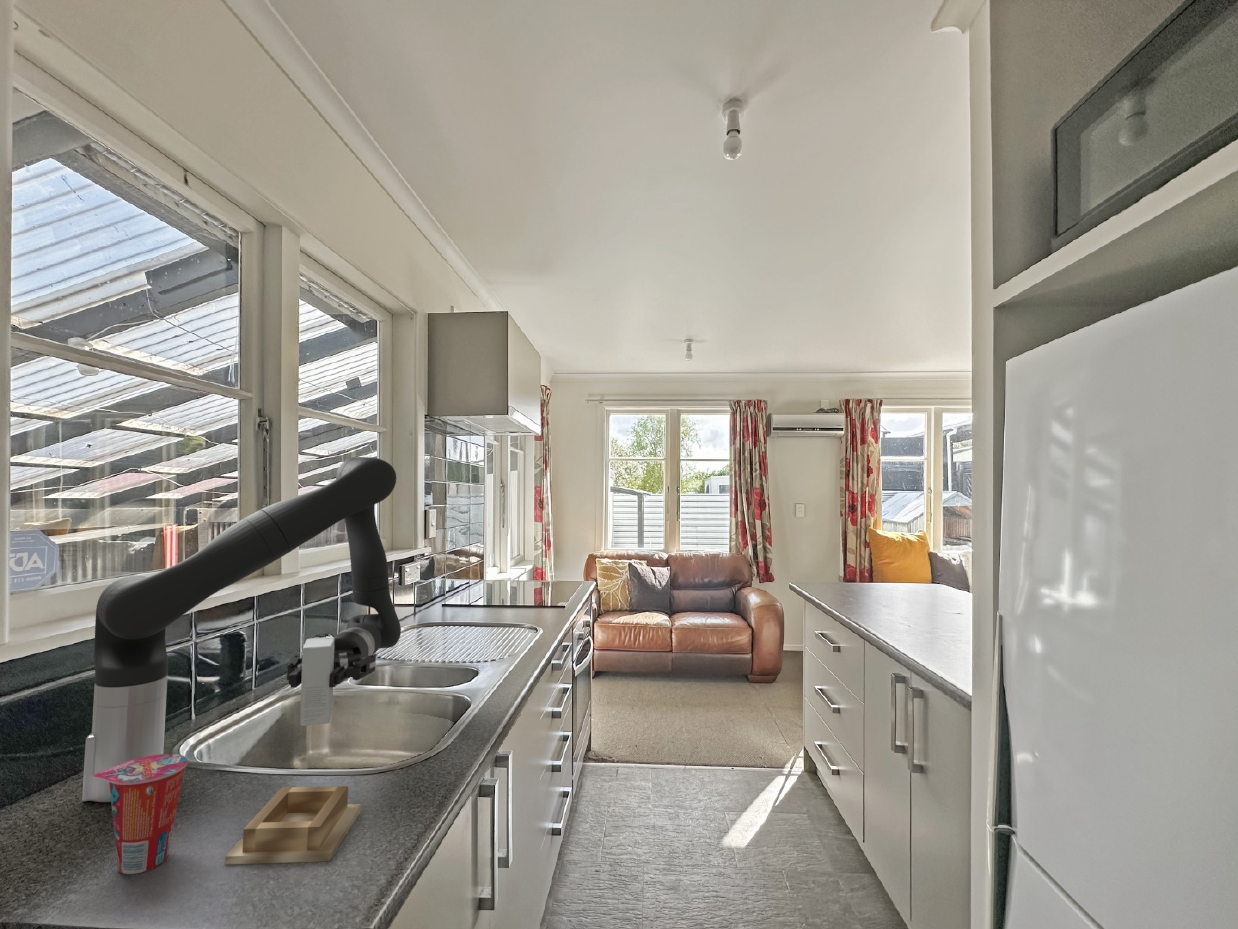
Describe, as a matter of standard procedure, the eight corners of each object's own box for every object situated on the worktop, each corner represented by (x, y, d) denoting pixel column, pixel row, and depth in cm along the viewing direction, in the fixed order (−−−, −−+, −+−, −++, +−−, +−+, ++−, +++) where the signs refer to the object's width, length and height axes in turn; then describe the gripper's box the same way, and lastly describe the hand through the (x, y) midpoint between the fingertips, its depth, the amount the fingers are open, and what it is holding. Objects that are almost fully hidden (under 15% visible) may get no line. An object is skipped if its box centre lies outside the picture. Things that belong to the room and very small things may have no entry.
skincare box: (303, 713, 102) (306, 638, 102) (332, 710, 103) (335, 636, 104) (298, 727, 96) (301, 647, 96) (329, 724, 97) (332, 645, 98)
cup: (171, 836, 87) (175, 748, 87) (192, 860, 82) (197, 766, 82) (83, 866, 80) (89, 770, 80) (100, 895, 74) (106, 791, 75)
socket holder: (224, 864, 81) (226, 832, 81) (270, 813, 94) (271, 785, 94) (330, 861, 82) (331, 829, 82) (360, 810, 95) (362, 783, 95)
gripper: (307, 631, 113) (264, 656, 97) (389, 631, 115) (361, 656, 98) (305, 673, 113) (262, 706, 96) (388, 673, 115) (359, 705, 98)
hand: (312, 681), depth 97 cm, fingers closed on skincare box, 5 cm apart
